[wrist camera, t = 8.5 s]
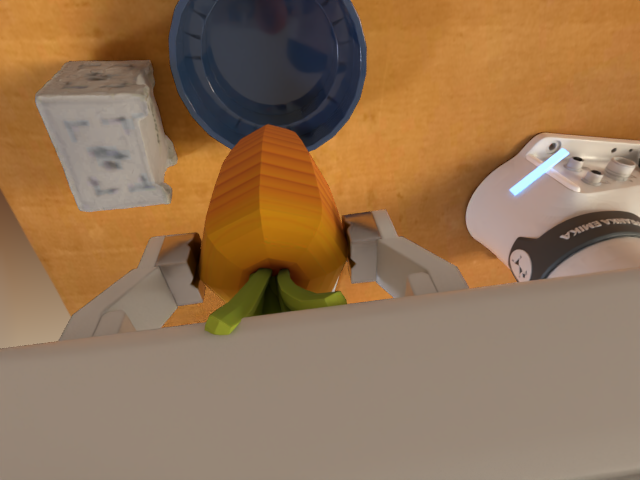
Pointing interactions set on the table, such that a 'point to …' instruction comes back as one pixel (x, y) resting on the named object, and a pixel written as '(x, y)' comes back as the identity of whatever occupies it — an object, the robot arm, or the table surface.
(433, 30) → the table surface
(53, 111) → the incense holder
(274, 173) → the carrot
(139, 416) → the robot arm
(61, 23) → the table surface
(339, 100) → the blue pet bowl
